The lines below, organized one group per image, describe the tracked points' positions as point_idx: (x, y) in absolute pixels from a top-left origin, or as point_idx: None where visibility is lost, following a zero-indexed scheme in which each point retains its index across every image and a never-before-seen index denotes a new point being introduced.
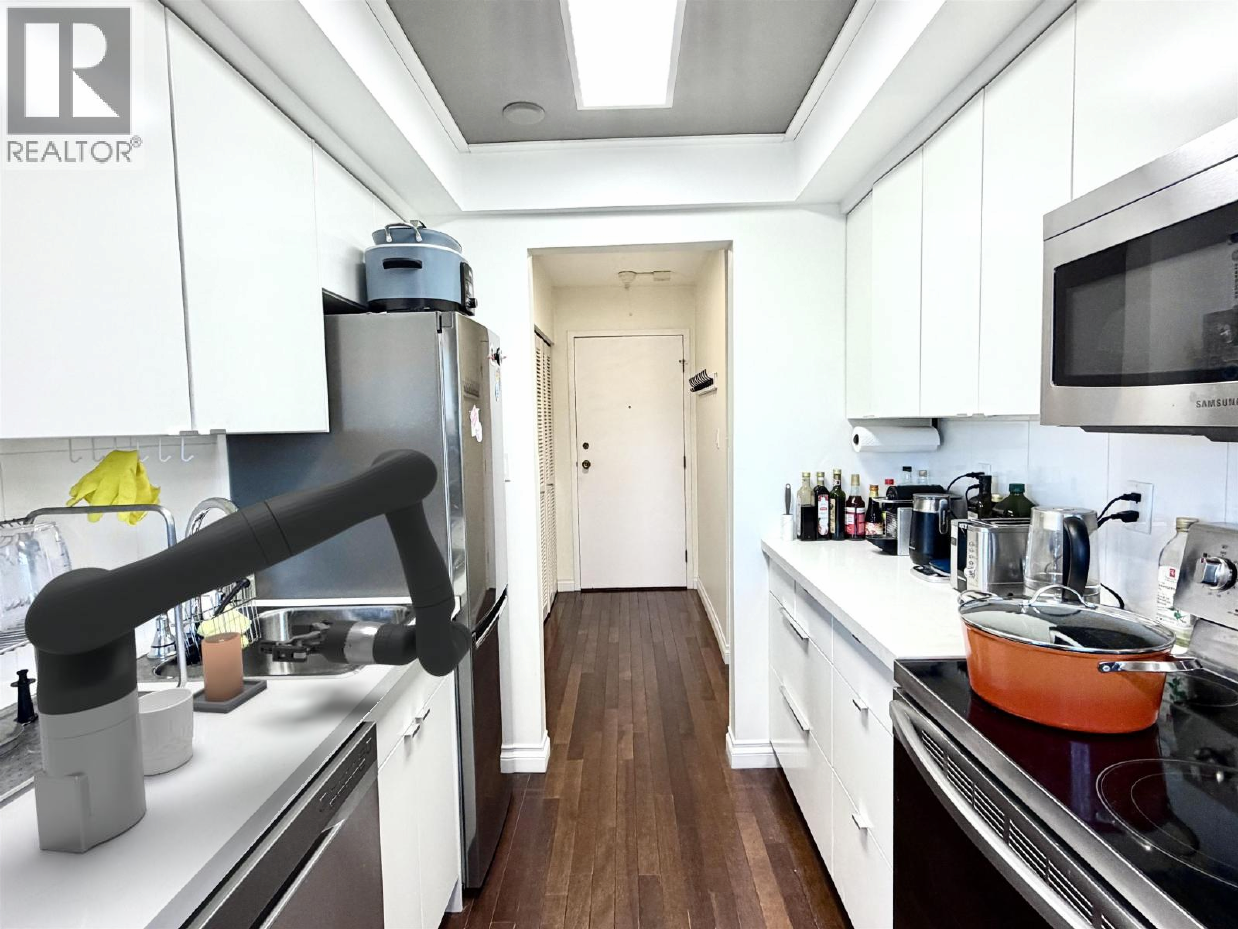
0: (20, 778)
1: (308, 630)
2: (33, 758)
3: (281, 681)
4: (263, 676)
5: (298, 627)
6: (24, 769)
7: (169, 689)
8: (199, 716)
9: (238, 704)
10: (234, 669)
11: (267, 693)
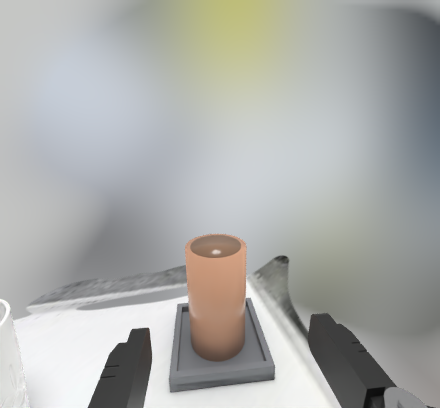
0: (43, 298)
1: (357, 402)
2: (87, 281)
3: (308, 383)
4: (299, 335)
5: (326, 342)
6: (65, 289)
7: (6, 313)
8: (161, 352)
9: (198, 386)
10: (212, 315)
11: (259, 401)
